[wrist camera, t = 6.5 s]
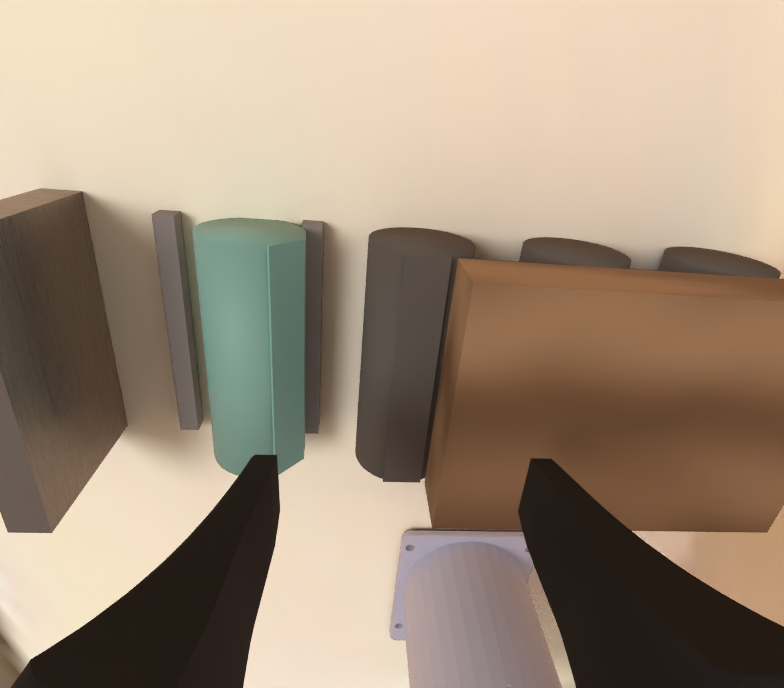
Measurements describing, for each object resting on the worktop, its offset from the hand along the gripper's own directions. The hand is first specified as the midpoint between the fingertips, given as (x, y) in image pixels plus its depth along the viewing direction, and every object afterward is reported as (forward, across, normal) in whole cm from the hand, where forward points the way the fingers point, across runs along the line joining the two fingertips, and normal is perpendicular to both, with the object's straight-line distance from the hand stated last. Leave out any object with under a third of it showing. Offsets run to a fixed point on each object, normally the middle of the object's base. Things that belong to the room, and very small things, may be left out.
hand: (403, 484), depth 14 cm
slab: (+6, -9, 0) cm, 10 cm away
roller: (+9, +7, 0) cm, 11 cm away
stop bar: (+9, +13, 0) cm, 16 cm away
